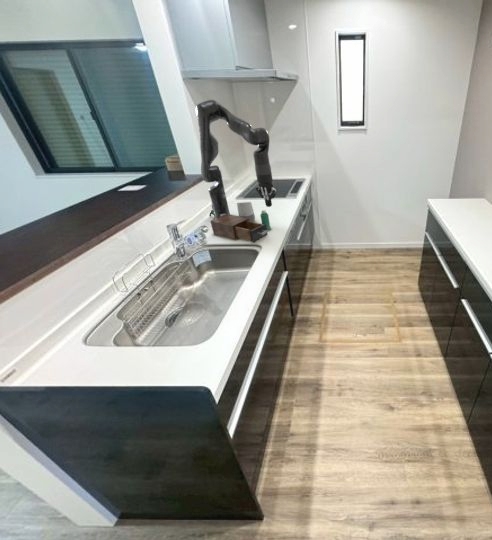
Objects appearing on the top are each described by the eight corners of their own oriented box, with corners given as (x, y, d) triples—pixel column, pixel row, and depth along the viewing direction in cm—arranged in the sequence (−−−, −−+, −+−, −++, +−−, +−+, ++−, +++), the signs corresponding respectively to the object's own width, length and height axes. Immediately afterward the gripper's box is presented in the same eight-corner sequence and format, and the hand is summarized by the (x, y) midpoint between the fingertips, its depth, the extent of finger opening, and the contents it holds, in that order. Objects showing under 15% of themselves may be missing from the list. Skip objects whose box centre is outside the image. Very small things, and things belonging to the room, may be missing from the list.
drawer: (273, 236, 167) (271, 224, 163) (259, 244, 158) (257, 232, 155) (246, 230, 175) (244, 219, 172) (231, 237, 167) (229, 226, 163)
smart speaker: (256, 219, 193) (252, 197, 185) (254, 224, 185) (250, 202, 178) (241, 220, 192) (236, 199, 184) (239, 225, 184) (234, 203, 177)
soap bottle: (261, 230, 177) (258, 210, 170) (266, 227, 180) (263, 208, 174) (267, 231, 175) (263, 212, 169) (272, 228, 178) (269, 209, 172)
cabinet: (251, 232, 175) (249, 218, 170) (235, 240, 165) (232, 225, 161) (230, 227, 182) (227, 213, 178) (213, 234, 173) (210, 220, 168)
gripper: (248, 173, 147) (254, 206, 156) (269, 175, 141) (274, 210, 150) (258, 169, 152) (264, 202, 161) (279, 172, 147) (283, 205, 156)
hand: (269, 206), depth 156 cm, fingers closed
